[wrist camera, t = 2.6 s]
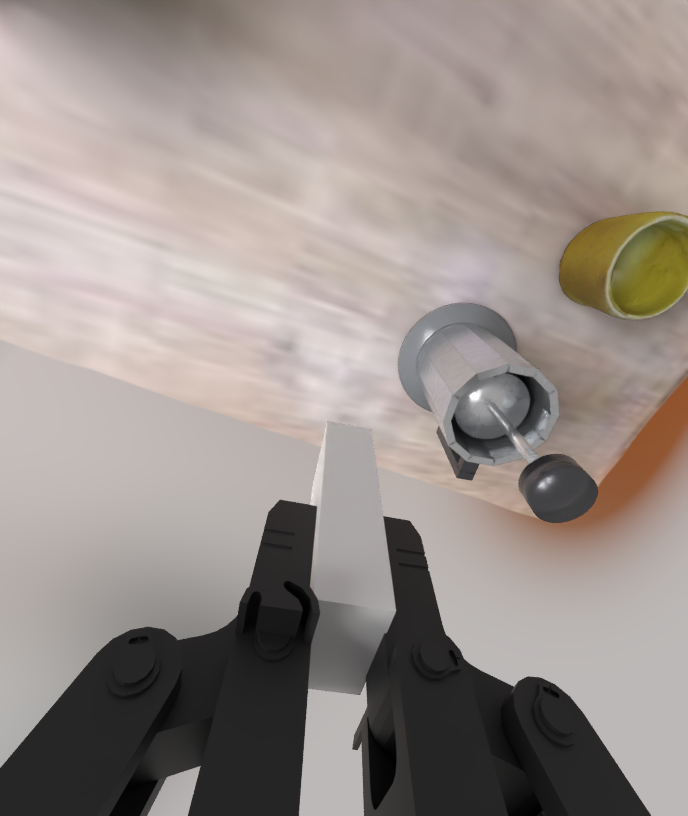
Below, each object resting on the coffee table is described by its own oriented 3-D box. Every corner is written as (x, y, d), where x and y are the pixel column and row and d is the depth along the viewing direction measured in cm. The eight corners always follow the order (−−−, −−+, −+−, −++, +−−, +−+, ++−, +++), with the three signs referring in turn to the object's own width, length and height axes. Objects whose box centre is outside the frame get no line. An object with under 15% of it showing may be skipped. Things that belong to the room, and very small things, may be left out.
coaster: (417, 291, 42) (418, 292, 42) (533, 316, 43) (535, 318, 43) (385, 401, 48) (385, 403, 48) (487, 420, 50) (489, 423, 49)
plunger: (467, 363, 34) (537, 444, 22) (538, 377, 34) (643, 463, 22) (443, 428, 37) (492, 530, 25) (508, 440, 37) (587, 545, 25)
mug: (528, 304, 41) (617, 300, 32) (563, 209, 40) (666, 175, 30) (604, 337, 45) (702, 342, 36) (637, 252, 44) (749, 234, 35)
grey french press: (430, 314, 43) (467, 355, 30) (511, 332, 44) (579, 377, 31) (399, 412, 48) (420, 480, 36) (471, 426, 49) (516, 496, 37)
